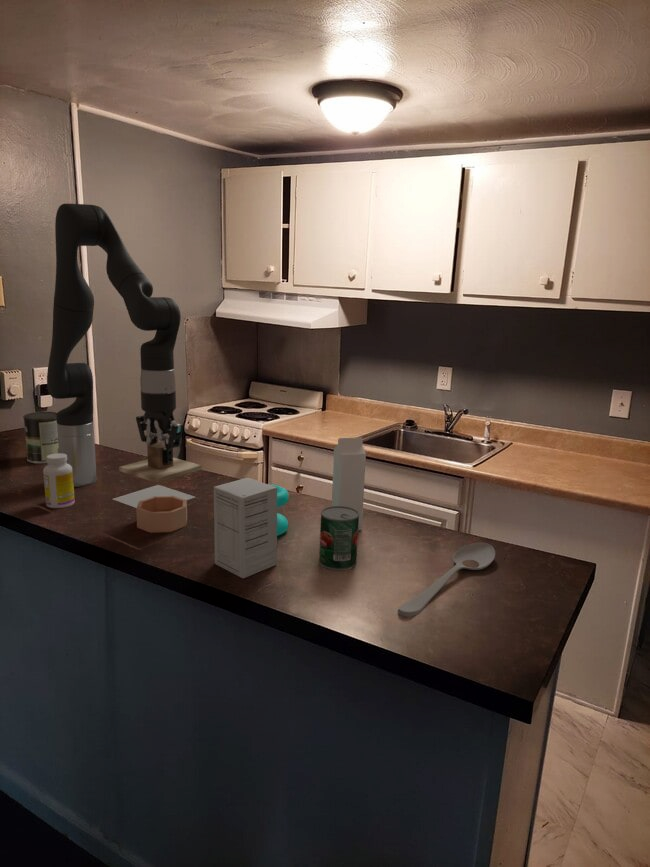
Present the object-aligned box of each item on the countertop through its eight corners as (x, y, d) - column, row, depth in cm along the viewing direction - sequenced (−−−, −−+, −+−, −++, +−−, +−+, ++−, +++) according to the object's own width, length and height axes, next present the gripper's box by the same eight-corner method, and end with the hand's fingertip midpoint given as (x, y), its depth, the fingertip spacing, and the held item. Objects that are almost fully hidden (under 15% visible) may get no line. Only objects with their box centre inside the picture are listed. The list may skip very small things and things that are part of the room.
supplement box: (278, 565, 123) (279, 487, 118) (243, 580, 116) (243, 498, 112) (248, 550, 129) (248, 476, 125) (213, 563, 122) (212, 485, 118)
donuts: (238, 486, 139) (277, 480, 144) (238, 526, 141) (276, 519, 146) (256, 500, 131) (296, 493, 136) (256, 542, 133) (295, 534, 138)
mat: (112, 500, 155) (111, 499, 154) (158, 486, 166) (158, 484, 166) (150, 514, 146) (150, 513, 146) (195, 498, 158) (195, 496, 158)
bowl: (128, 525, 139) (127, 505, 138) (165, 511, 148) (164, 492, 147) (159, 537, 133) (159, 516, 132) (196, 523, 142) (196, 503, 141)
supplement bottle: (79, 501, 153) (76, 453, 150) (66, 510, 147) (62, 460, 144) (55, 499, 154) (51, 451, 151) (40, 508, 147) (36, 458, 144)
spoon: (469, 548, 134) (470, 537, 134) (503, 558, 130) (504, 547, 129) (382, 616, 108) (382, 603, 108) (420, 631, 103) (421, 618, 103)
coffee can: (23, 464, 181) (19, 419, 178) (31, 455, 191) (27, 411, 187) (60, 463, 183) (56, 418, 180) (65, 454, 193) (62, 411, 190)
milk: (361, 530, 142) (367, 440, 136) (337, 532, 140) (342, 441, 135) (353, 520, 147) (358, 434, 142) (330, 522, 146) (334, 434, 140)
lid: (119, 470, 136) (117, 445, 135) (164, 458, 146) (163, 435, 145) (157, 483, 129) (156, 456, 127) (201, 469, 139) (201, 444, 138)
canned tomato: (311, 559, 126) (313, 510, 123) (340, 550, 130) (342, 503, 128) (334, 574, 120) (336, 523, 117) (364, 564, 124) (367, 514, 122)
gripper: (123, 387, 134) (127, 460, 138) (166, 395, 126) (168, 473, 130) (150, 383, 140) (153, 453, 144) (193, 391, 132) (194, 465, 136)
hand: (160, 462), depth 137 cm, fingers closed on lid, 4 cm apart
